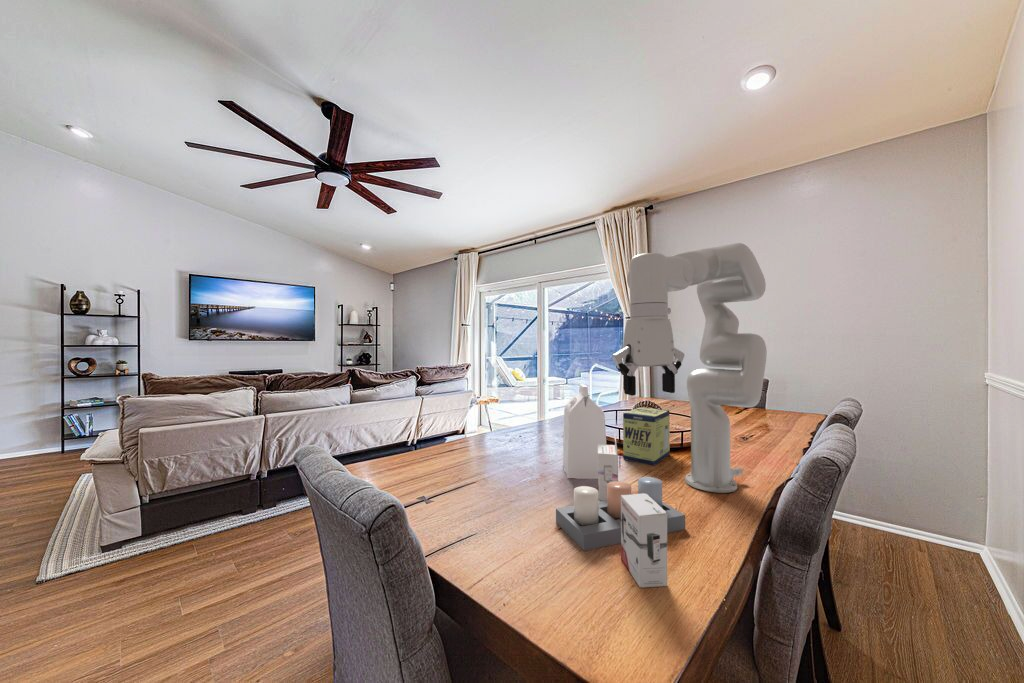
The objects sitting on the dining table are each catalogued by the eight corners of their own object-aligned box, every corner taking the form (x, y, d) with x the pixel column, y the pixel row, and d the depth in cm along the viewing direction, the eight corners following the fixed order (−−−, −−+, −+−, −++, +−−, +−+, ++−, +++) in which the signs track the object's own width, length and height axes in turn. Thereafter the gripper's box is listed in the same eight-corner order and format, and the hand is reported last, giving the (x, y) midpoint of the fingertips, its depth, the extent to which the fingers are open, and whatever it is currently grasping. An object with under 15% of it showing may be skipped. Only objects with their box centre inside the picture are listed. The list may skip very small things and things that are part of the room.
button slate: (651, 502, 86) (651, 475, 86) (667, 511, 81) (667, 483, 81) (633, 505, 84) (633, 478, 84) (648, 514, 80) (648, 486, 80)
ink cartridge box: (597, 487, 101) (596, 432, 101) (616, 488, 100) (616, 433, 100) (598, 500, 93) (597, 441, 93) (618, 502, 92) (618, 441, 92)
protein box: (622, 459, 125) (622, 412, 125) (640, 449, 137) (640, 406, 136) (654, 466, 118) (654, 416, 118) (670, 454, 130) (670, 409, 130)
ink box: (619, 557, 68) (619, 493, 68) (645, 556, 69) (645, 492, 69) (639, 589, 60) (639, 514, 60) (669, 587, 60) (668, 513, 60)
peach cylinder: (622, 507, 83) (621, 480, 83) (636, 517, 79) (636, 488, 79) (602, 510, 82) (602, 483, 82) (616, 521, 77) (615, 491, 77)
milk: (608, 478, 108) (607, 387, 108) (567, 478, 108) (567, 388, 108) (598, 464, 120) (598, 383, 120) (562, 465, 120) (562, 383, 120)
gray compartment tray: (647, 505, 90) (646, 493, 90) (685, 529, 78) (685, 514, 78) (555, 522, 82) (555, 508, 82) (583, 551, 71) (583, 535, 71)
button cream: (590, 512, 81) (590, 484, 81) (603, 523, 76) (603, 493, 76) (569, 516, 79) (569, 488, 79) (581, 527, 74) (581, 497, 74)
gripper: (670, 314, 86) (671, 389, 86) (603, 314, 81) (604, 393, 81) (695, 312, 79) (695, 393, 79) (623, 311, 74) (624, 398, 74)
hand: (649, 393), depth 80 cm, fingers open, 9 cm apart
